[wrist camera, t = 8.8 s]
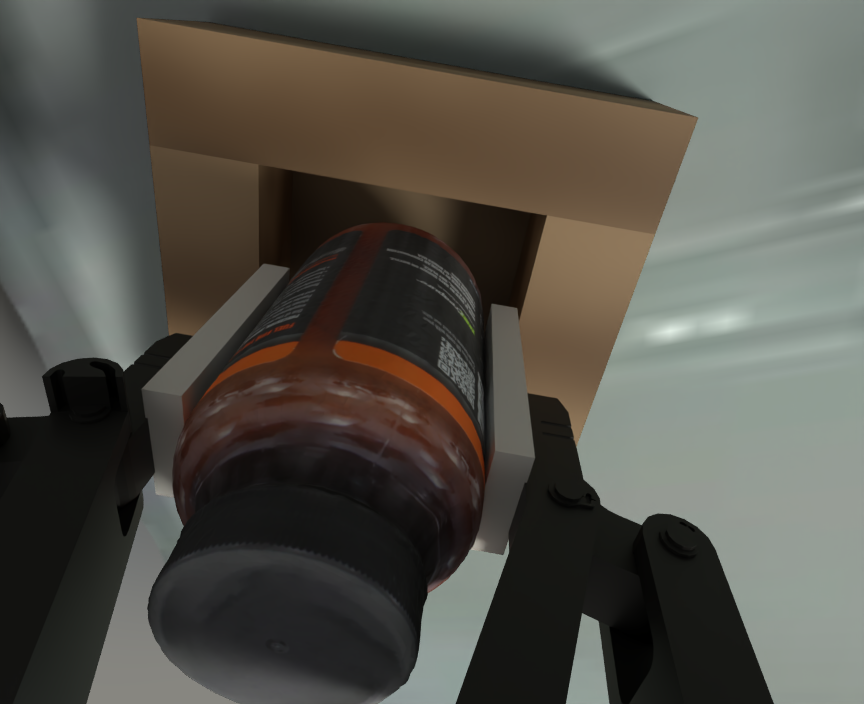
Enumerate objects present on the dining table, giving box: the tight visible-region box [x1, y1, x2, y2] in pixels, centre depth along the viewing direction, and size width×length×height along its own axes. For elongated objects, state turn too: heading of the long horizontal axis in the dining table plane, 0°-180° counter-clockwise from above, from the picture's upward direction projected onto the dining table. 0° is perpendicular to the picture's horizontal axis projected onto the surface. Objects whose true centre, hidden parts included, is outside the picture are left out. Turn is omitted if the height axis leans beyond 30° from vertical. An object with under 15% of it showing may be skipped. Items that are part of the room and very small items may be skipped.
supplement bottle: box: [147, 222, 485, 704], centre depth 13 cm, size 6×6×11 cm
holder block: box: [137, 18, 698, 446], centre depth 19 cm, size 14×14×4 cm
